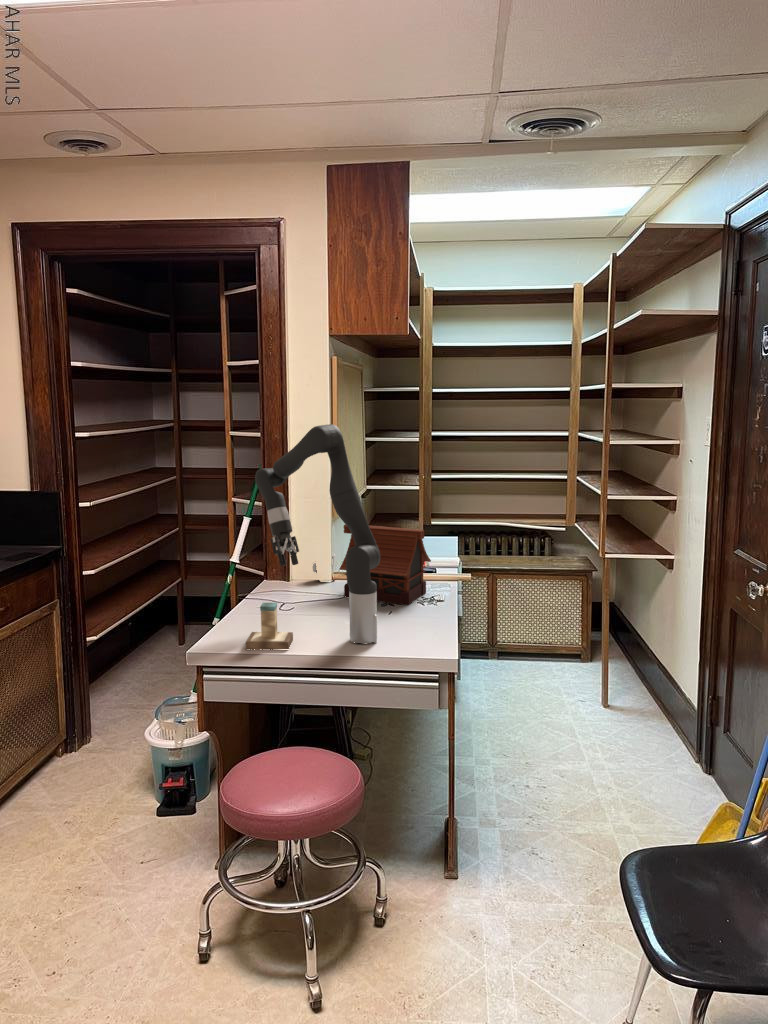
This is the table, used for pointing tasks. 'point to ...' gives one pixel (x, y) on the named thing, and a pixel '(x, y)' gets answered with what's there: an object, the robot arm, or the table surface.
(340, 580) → the table surface
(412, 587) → the house
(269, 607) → the teal topped tan block
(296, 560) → the robot arm
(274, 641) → the dock
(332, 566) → the cup
